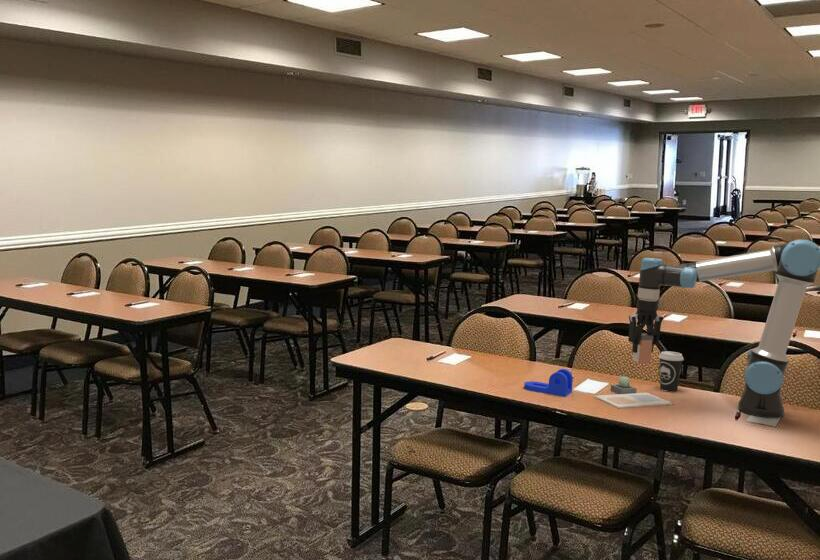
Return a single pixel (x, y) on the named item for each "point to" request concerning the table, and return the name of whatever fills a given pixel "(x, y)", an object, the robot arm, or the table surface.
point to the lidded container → (645, 348)
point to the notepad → (633, 400)
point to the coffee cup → (670, 370)
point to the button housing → (623, 389)
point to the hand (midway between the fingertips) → (641, 360)
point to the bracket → (553, 384)
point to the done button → (624, 382)
